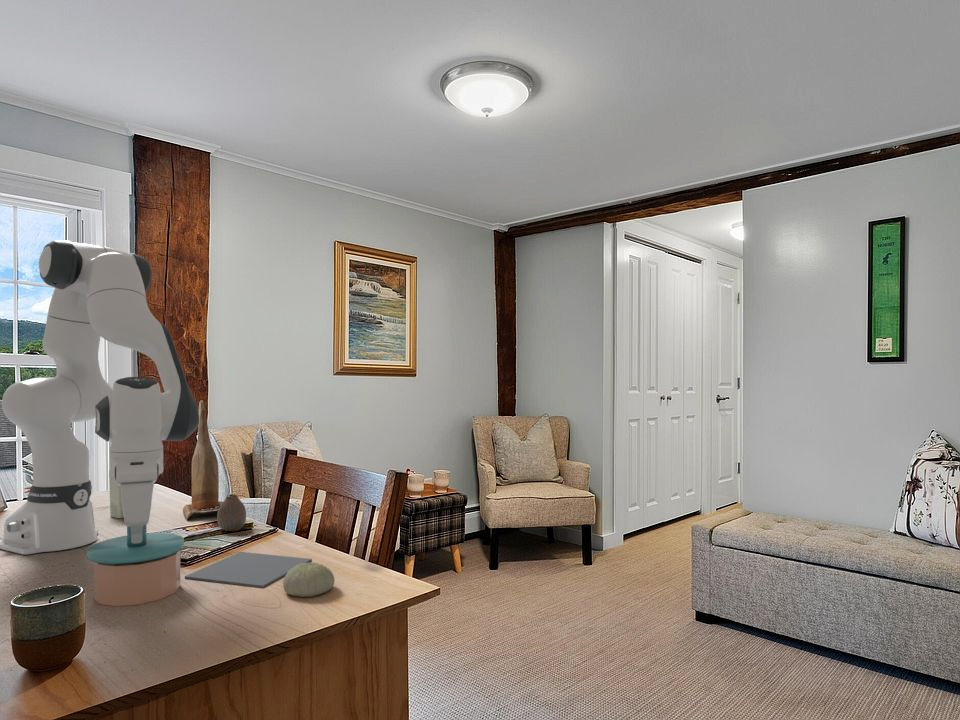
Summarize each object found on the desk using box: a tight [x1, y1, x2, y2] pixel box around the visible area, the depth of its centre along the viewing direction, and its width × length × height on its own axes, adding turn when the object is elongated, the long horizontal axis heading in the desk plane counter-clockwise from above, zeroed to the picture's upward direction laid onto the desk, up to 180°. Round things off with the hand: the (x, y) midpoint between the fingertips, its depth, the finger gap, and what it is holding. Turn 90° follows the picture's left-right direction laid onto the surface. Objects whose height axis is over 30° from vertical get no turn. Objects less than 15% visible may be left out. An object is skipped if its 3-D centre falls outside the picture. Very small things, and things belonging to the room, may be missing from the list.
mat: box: [184, 551, 312, 589], centre depth 134 cm, size 18×17×1 cm
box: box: [108, 469, 124, 519], centre depth 179 cm, size 5×4×13 cm
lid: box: [86, 524, 185, 564], centre depth 122 cm, size 16×16×4 cm
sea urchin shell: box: [282, 561, 335, 598], centre depth 122 cm, size 9×8×8 cm
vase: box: [216, 493, 247, 532], centre depth 165 cm, size 7×7×9 cm
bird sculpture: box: [182, 399, 223, 521], centre depth 181 cm, size 11×12×32 cm
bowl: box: [93, 550, 181, 607], centre depth 122 cm, size 14×14×7 cm
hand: (136, 539), depth 122 cm, fingers closed on lid, 3 cm apart
